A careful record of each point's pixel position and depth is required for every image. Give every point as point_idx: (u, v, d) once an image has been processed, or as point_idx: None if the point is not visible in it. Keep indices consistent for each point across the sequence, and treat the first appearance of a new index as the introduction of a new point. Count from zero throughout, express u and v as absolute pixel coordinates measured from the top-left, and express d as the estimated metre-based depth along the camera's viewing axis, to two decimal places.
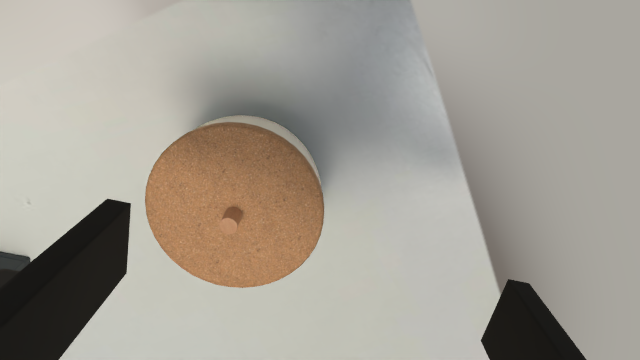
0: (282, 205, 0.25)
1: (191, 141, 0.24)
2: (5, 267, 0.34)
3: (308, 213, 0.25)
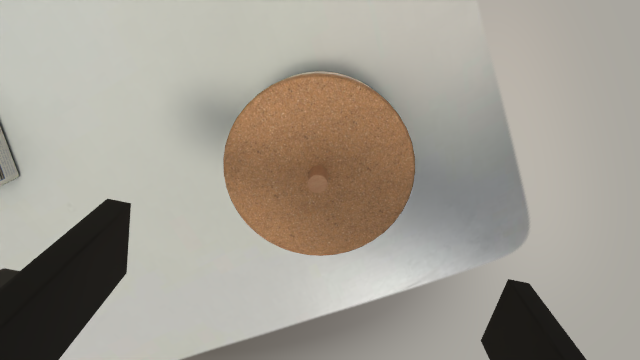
0: (329, 221, 0.25)
1: (401, 138, 0.23)
2: None
3: (319, 244, 0.25)
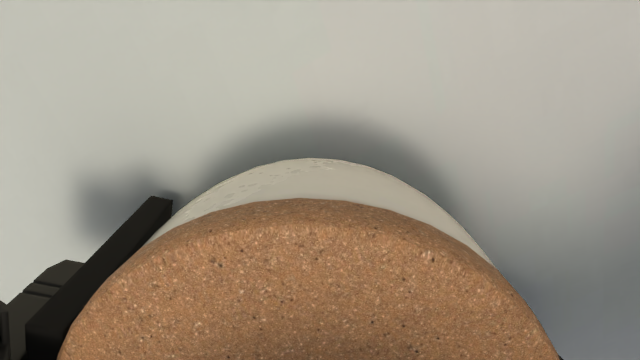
0: None
1: None
2: None
3: None
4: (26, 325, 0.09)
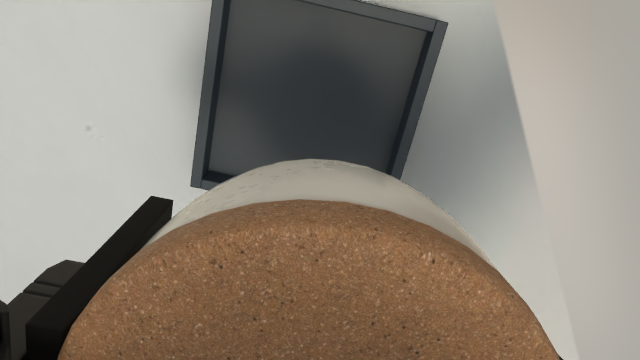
0: None
1: None
2: None
3: None
4: (27, 325, 0.09)
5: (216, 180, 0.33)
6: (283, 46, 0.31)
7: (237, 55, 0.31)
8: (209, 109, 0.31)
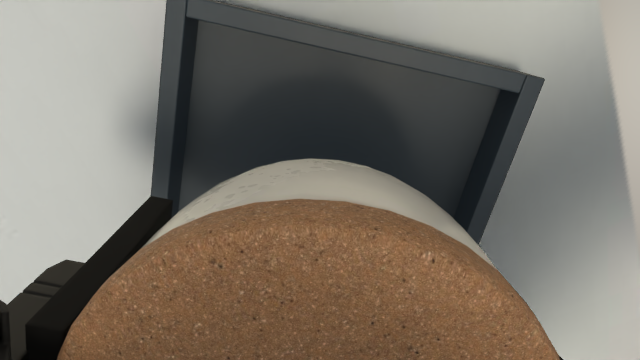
0: None
1: None
2: None
3: None
4: (27, 325, 0.09)
5: None
6: (279, 108, 0.20)
7: (209, 121, 0.20)
8: None
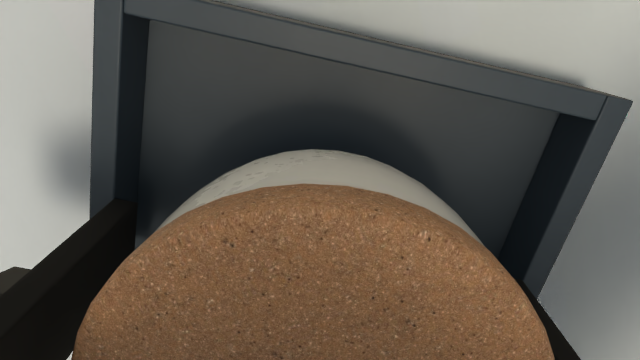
0: None
1: (533, 356, 0.09)
2: None
3: None
4: None
5: None
6: (262, 136, 0.15)
7: (169, 153, 0.15)
8: None
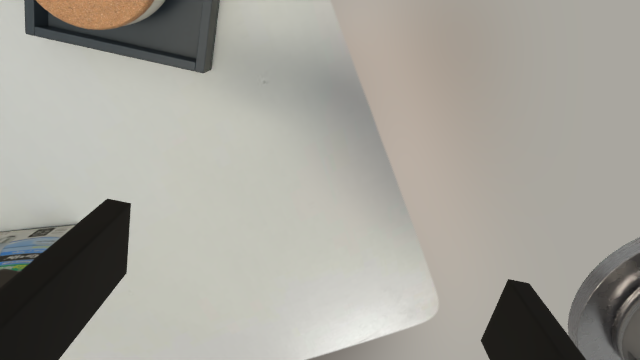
0: None
1: None
2: (207, 63, 0.38)
3: (94, 16, 0.31)
4: None
5: (49, 29, 0.37)
6: None
7: None
8: None
